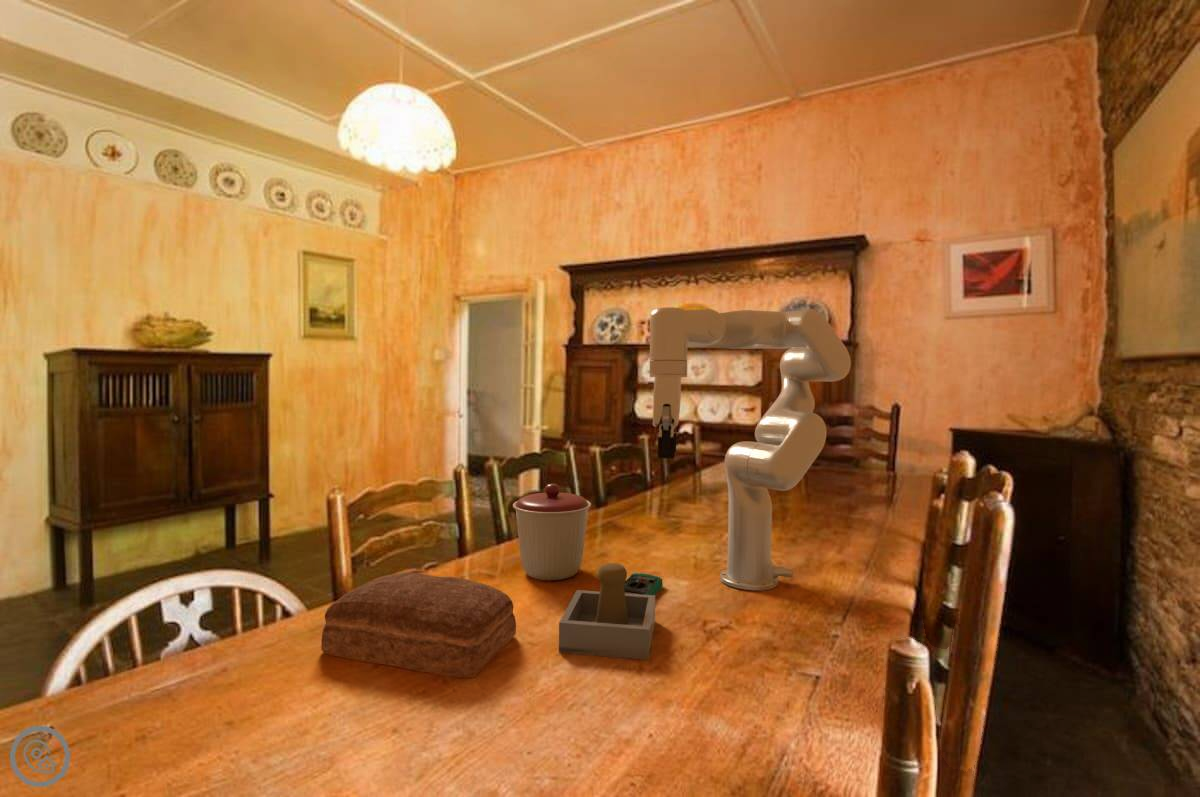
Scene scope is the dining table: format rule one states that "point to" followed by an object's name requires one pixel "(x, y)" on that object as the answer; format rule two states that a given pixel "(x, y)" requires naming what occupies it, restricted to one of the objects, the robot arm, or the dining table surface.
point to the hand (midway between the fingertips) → (667, 454)
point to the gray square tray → (607, 628)
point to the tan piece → (612, 595)
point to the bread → (421, 624)
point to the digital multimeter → (642, 584)
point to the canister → (551, 533)
